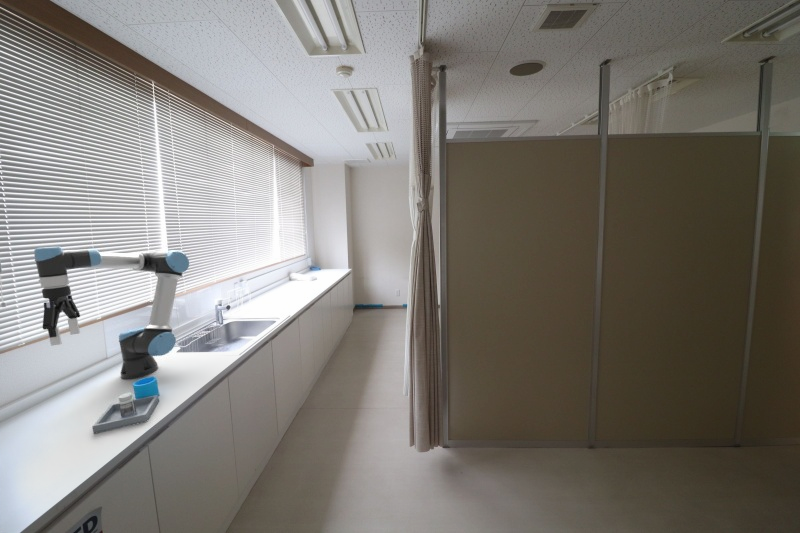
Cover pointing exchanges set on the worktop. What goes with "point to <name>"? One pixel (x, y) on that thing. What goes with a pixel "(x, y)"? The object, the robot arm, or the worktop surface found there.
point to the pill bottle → (127, 405)
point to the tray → (114, 420)
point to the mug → (146, 387)
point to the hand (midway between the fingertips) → (66, 339)
